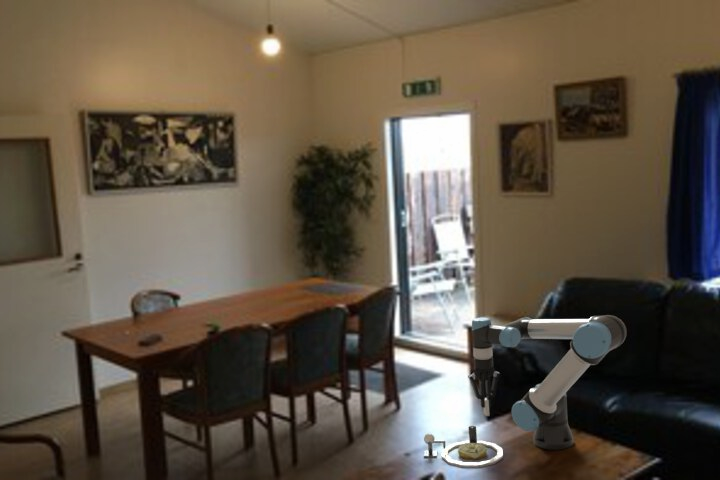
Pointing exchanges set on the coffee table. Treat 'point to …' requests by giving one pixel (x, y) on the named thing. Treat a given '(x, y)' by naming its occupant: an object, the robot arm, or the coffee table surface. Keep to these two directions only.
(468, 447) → the decorated donut
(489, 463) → the ring
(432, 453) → the dial indicator
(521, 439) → the coffee table surface
